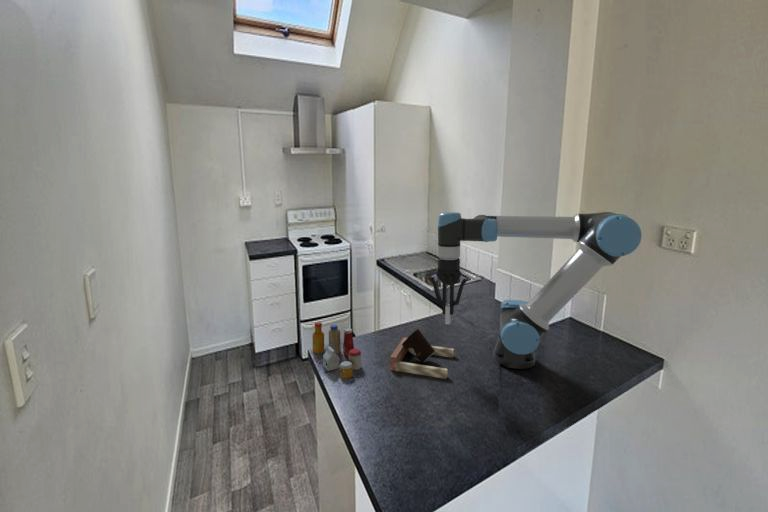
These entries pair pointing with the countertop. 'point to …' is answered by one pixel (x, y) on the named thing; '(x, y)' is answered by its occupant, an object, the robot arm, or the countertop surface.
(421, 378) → the countertop surface
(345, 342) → the toy food set
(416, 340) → the dark brown cup
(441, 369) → the u-shaped wooden frame
